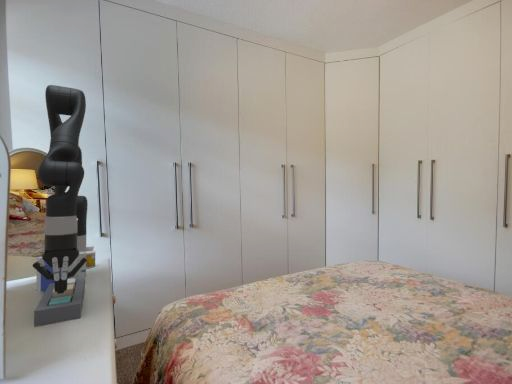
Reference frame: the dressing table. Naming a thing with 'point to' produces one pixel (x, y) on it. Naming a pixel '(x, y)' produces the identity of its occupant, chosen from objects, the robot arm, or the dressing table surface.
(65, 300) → the teal key
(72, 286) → the sand key
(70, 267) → the skincare box
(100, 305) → the dressing table surface
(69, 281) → the grey key
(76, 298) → the grey board with slots
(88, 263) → the supplement bottle
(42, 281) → the walkman
